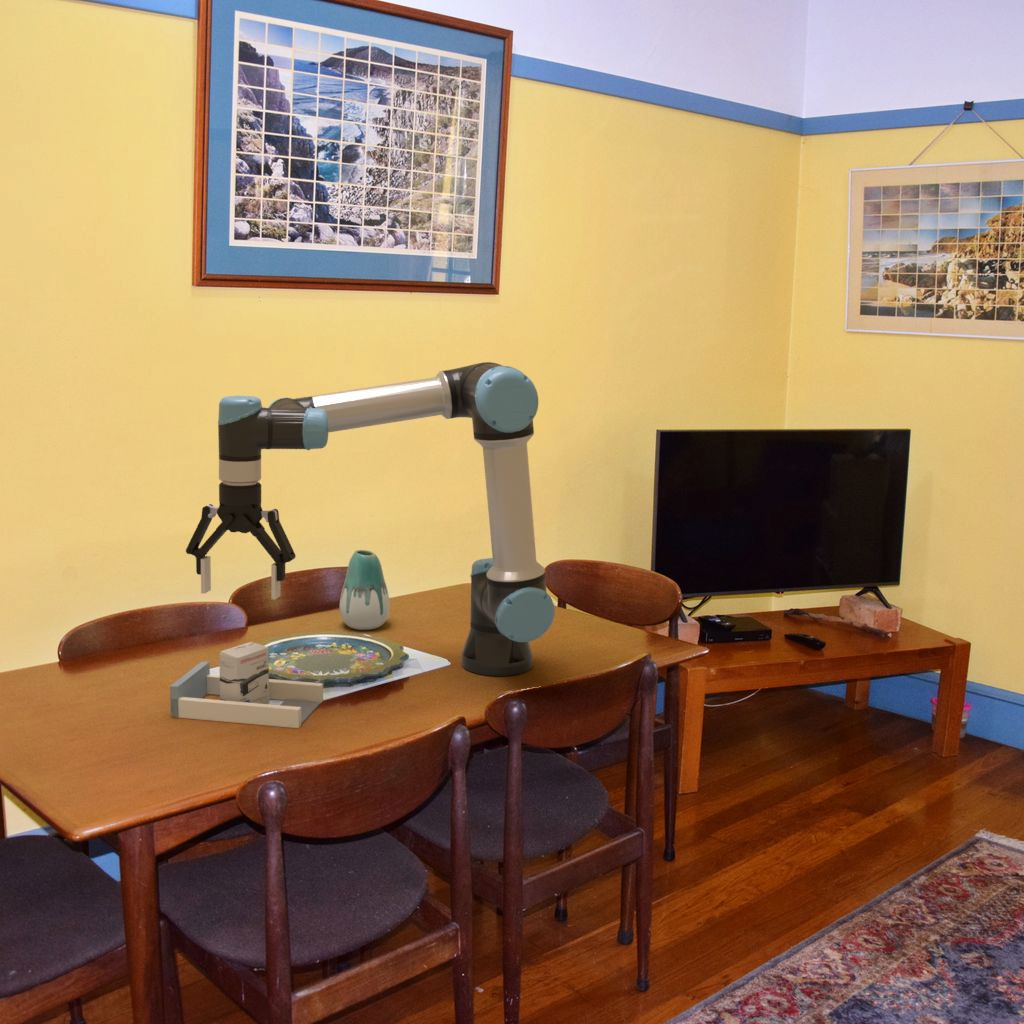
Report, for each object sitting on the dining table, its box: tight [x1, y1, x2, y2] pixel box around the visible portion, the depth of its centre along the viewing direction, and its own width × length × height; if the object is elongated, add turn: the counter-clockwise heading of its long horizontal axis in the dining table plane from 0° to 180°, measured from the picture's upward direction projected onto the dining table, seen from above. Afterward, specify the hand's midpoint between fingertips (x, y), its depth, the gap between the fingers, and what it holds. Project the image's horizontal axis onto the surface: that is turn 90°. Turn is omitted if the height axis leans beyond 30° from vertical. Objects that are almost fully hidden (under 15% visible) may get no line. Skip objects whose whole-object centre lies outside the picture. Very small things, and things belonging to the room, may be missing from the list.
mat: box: [279, 700, 321, 725], centre depth 227 cm, size 7×11×1 cm, turn 171°
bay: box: [169, 660, 324, 729], centre depth 227 cm, size 24×14×6 cm, turn 81°
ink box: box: [219, 641, 270, 704], centre depth 227 cm, size 8×5×12 cm, turn 148°
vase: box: [338, 549, 391, 631], centre depth 279 cm, size 12×12×18 cm
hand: (240, 594), depth 224 cm, fingers open, 13 cm apart
